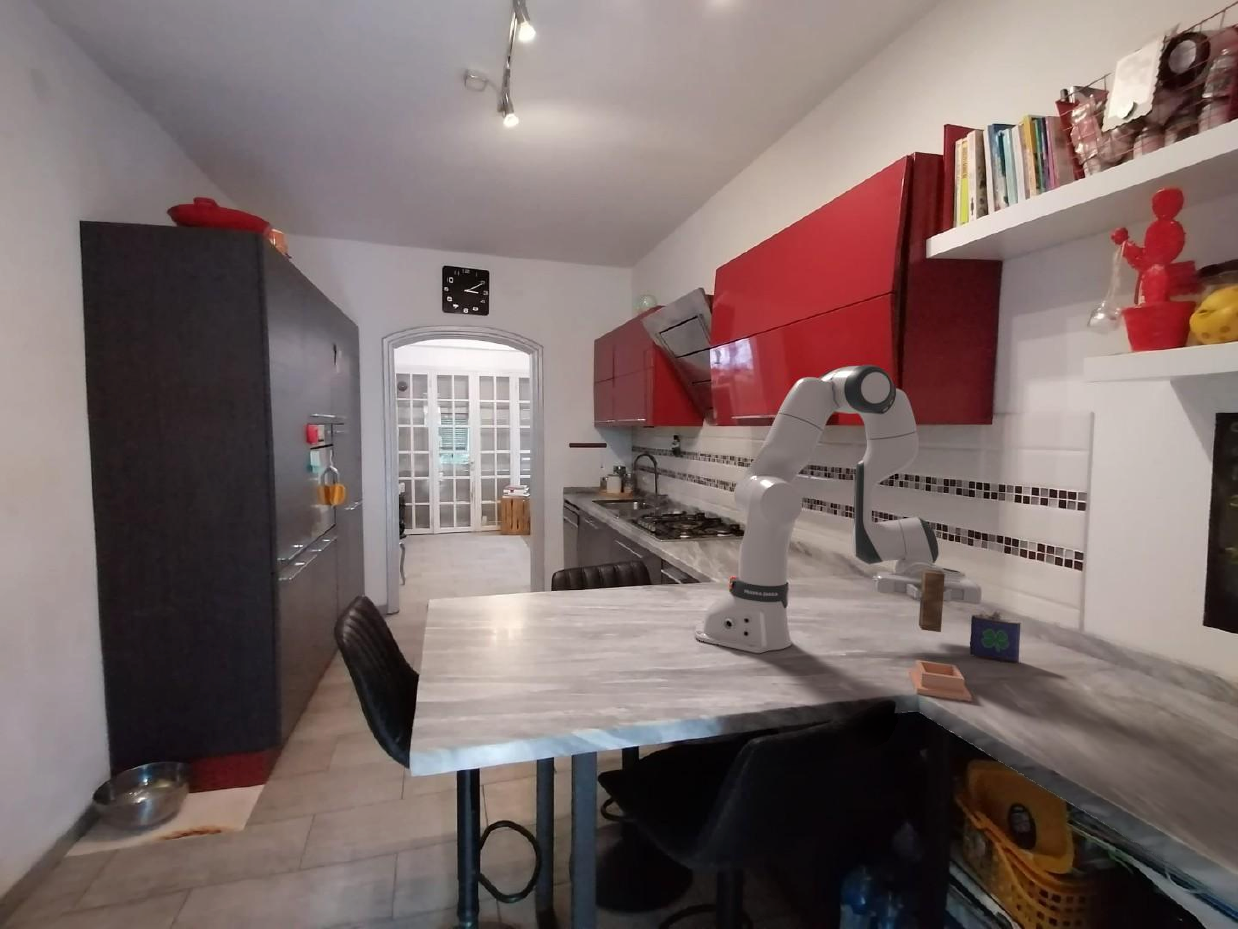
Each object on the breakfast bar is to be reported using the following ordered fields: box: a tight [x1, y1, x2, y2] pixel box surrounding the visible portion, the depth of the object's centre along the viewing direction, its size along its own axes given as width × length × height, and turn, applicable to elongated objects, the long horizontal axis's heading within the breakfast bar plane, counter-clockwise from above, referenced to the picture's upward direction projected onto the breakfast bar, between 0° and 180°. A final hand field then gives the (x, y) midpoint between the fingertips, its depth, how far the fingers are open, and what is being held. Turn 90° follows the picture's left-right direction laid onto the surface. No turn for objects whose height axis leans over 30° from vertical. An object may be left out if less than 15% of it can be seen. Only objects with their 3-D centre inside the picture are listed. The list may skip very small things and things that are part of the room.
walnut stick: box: [918, 569, 945, 633], centre depth 118 cm, size 4×4×12 cm
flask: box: [969, 610, 1022, 664], centre depth 126 cm, size 9×3×11 cm, turn 63°
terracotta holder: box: [907, 659, 973, 702], centre depth 110 cm, size 9×10×4 cm
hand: (932, 596), depth 117 cm, fingers closed on walnut stick, 3 cm apart
